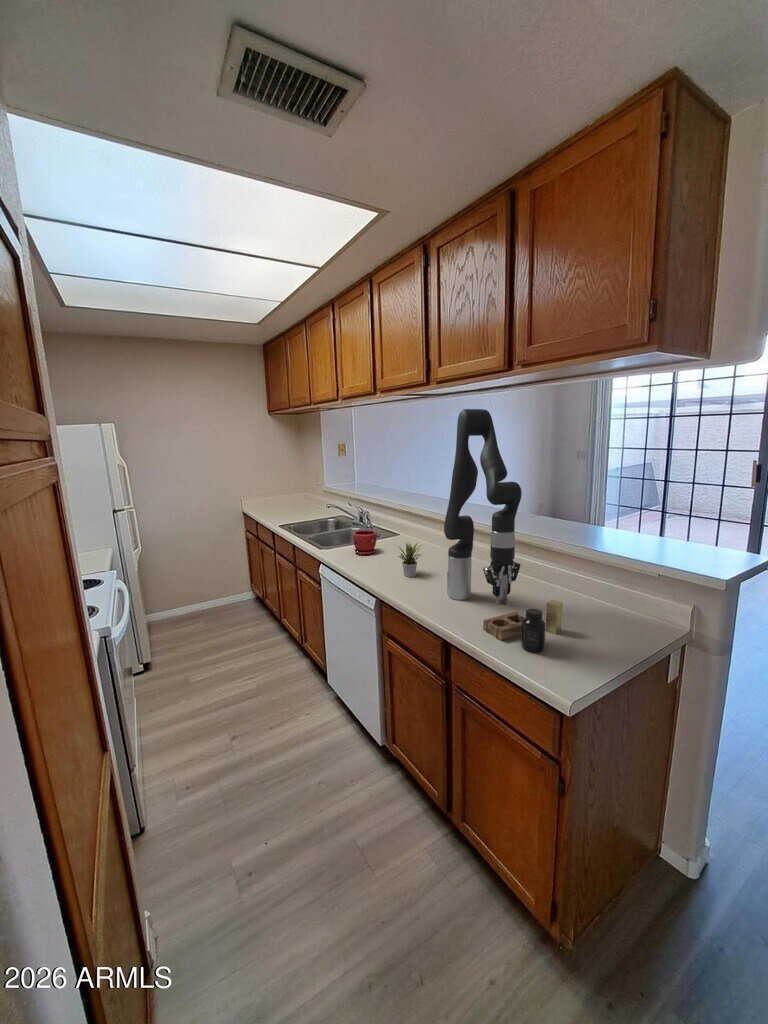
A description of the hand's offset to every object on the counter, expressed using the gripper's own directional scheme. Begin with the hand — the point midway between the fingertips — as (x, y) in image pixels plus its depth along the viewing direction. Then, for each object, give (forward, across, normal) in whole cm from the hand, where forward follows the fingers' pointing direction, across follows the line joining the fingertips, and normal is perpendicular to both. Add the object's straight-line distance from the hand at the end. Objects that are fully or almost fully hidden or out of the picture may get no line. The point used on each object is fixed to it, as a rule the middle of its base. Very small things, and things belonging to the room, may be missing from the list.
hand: (501, 594), depth 140 cm
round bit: (+3, 0, 0) cm, 3 cm away
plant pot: (+13, +4, -110) cm, 111 cm away
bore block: (+13, -4, 0) cm, 14 cm away
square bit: (+13, -16, +7) cm, 22 cm away
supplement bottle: (+14, -2, +12) cm, 19 cm away
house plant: (+13, -2, -64) cm, 66 cm away
